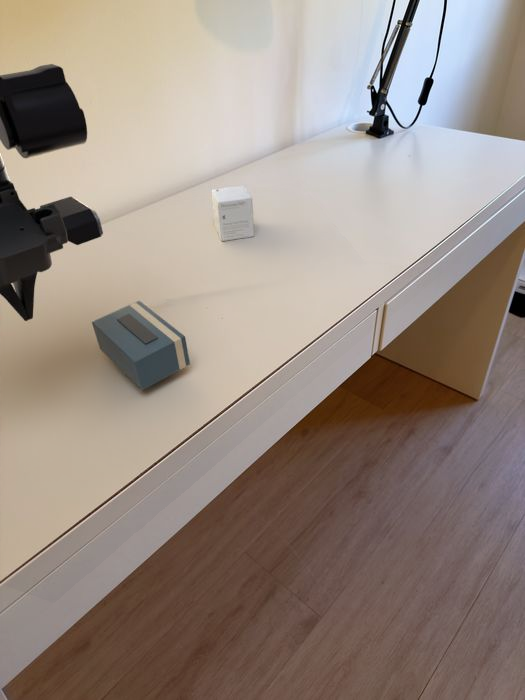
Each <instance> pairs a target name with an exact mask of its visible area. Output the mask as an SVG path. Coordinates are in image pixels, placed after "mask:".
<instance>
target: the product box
mask: <svg viewBox="0 0 525 700" xmlns="http://www.w3.org/2000/svg"><path fill="white" fill-rule="evenodd" d="M250 193H251V192H249V190H248V189H247V187H246V185H237V186H227V187H221V188H213V189H211V195H212V196H211V197H212V207H213V216H214V226H215V229H216V231H217V234H218V236H219V238H220V240H221V242H226V241H227V242H228V241H233V240H239V239H247V238H253V237H255V223H254V222H255V221H254V203H253V197H252V195H251V194H250Z"/></svg>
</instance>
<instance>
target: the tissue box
mask: <svg viewBox="0 0 525 700" xmlns="http://www.w3.org/2000/svg"><path fill="white" fill-rule="evenodd" d="M91 325H92V328H93V331H94V335H95V337H96V341H97V344H98V347H99V349H100V351H101V352H102V353H104V354H105V355H106V356H107V357H108V358H109V360H111V362H113V363H114V365H116V366H117V367H118V368H119V369H120V370H121V372H122V373H124V374H125V375H126V376H127V377H128V378H129V379H130V380H131V381H132V382H133V383H134V384H135V385H136V386H137V387H138V388H139V389H140V391H144V390H146V389H148V388H149V387H151V386H153V385H155V384H157V383H158V382H161V381H162V380H164V379H166V378H168V377H169V376H171V375H173V374H175V373H177V372H179V371H181V370H182V369H184V368H186V367H188V366H189V365H191V361H190V356H189V351H188V346H187V340H186V336H185V335H184V334H182V333H181V332H180V331H179V330H178V329H176V328H175V327H174V326H173V325H171V324H170V323H169V322H167V320H165V319H164V318H162V317H161V316H160V315H158V314H157V313H156V312H155V311H153V310H152V309H151V308H150V307H148V306H147V305H146V304H145V303H143V301H140V300H137V301H134V302H132V303H129V304H128V305H125V306H124V307H122V308H119V309H117V310H114V311H113V312H110V313H108V314H106V315H104V316H102V317H99V318H97V319H95V320H92V321H91Z"/></svg>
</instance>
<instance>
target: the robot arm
mask: <svg viewBox="0 0 525 700" xmlns="http://www.w3.org/2000/svg"><path fill="white" fill-rule="evenodd" d="M87 139H88V126H87V121H86V116H85V112H84V110H83V109H82V108H81V107H80V104H79V102H78V99H77V97H76V95H75V93H74V91H73V89H72V88H71V86H70V85H69V83H68V82H67V80H66V75H65V72H64V68H62V66H59V65H56V64H54V63H49V64H43V65H39V66H37V67H35V68H32V69H30V70H24V71H18V72H11V73H6V74H1V75H0V143H1V144H2V145H3V146H4V148H5V149H6V150H14V149H15V150H16V151H17V153H18V155H20V156H21V157H22V158H23V159H30V158H34V157H36V156H41V155H45V154H49V153H55V152H57V151H61V150H65V149H69V148H73V147H78V146H81V145H85V144H86V143H87ZM103 234H104V231H103V227H102V223H101V220H100V217H99V215H98V214H97V212H96V210H94V209H93V208H92V207H90V206H88V205H86V204H85V203H84V202H82V201H80V200H78V199H77V198H75V197H73V196H68V197H64V198H61V199H58V200H55V201H51V202H49V203H45V204H42V205H39V208H35V207H33V208H29V209H28V208H27V207H26V206H25V204H24V203H23V202H22V201H21V199H20V197H19V194H18V191H17V190H16V188H15V185H14V183H13V182H11V180H10V177H9V174H8V171H7V167H6V165H5V162H4V159H3V156H2V154H1V152H0V296H2V297H3V299H5V300H6V301H7V303H9V305H10V306H11V307H12V308H13V310H14V311H15V312H16V313H17V314H18V315H19V316H20V318H22V320H24V322H28V321H30V320H32V319H33V318H34V306H35V287H36V280H37V275H38V273H43V272H46V271H48V270H49V269H50V268H51V267H52V265H53V263H52V253H55V252H57V251H60V250H63V249H64V245H65V244H67V243H70V244H71V243H72V244H73V245H76V246H79V245H82V244H85V243H88V242H90V241H94V240H96V239H99V238H101V237H102V236H103Z"/></svg>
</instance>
